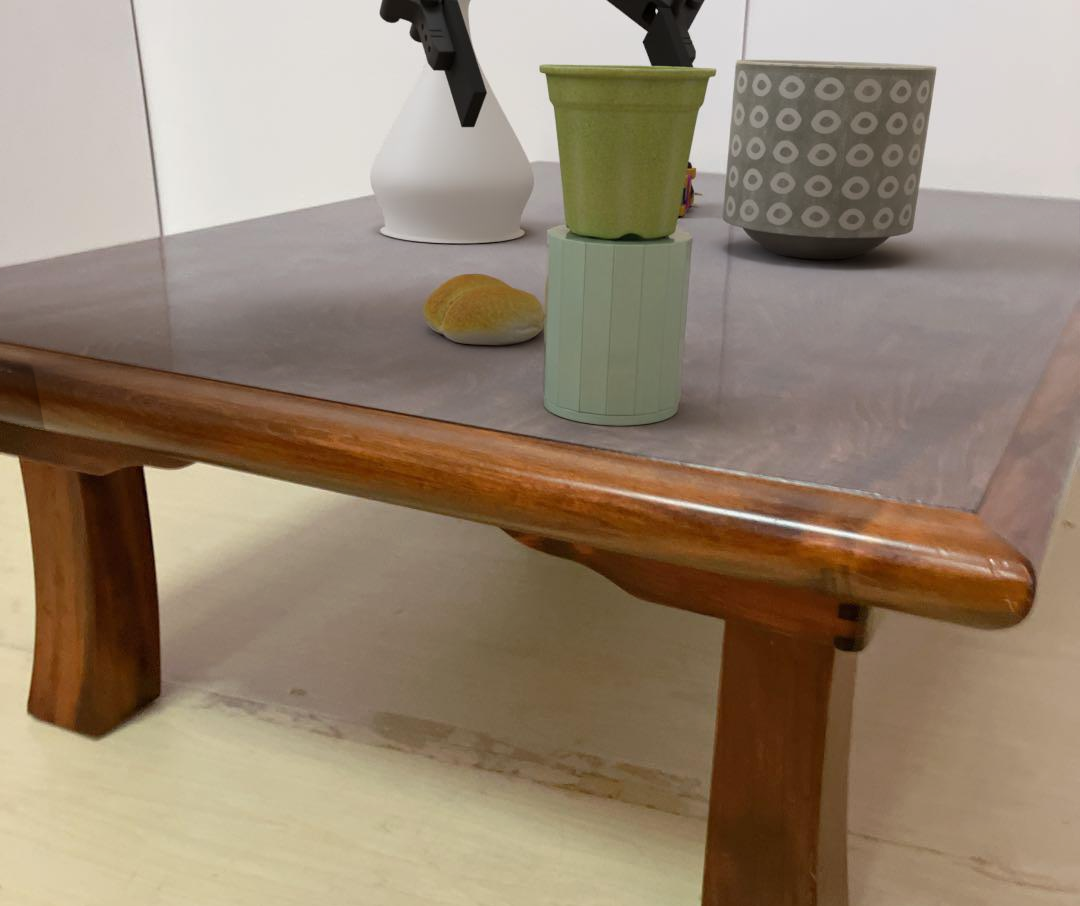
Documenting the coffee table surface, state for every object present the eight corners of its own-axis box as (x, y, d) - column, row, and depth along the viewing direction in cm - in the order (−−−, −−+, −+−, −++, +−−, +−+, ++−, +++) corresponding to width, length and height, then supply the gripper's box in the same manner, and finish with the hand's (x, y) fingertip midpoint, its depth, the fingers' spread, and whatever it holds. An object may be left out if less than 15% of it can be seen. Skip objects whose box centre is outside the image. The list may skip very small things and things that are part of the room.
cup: (548, 425, 66) (554, 243, 62) (538, 386, 73) (542, 221, 69) (690, 426, 66) (704, 246, 62) (665, 386, 74) (677, 223, 70)
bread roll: (467, 353, 80) (467, 294, 78) (409, 325, 87) (408, 271, 85) (569, 340, 84) (570, 284, 82) (505, 314, 91) (506, 262, 89)
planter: (757, 232, 133) (774, 59, 126) (927, 250, 125) (956, 65, 117) (691, 255, 118) (706, 60, 111) (879, 278, 109) (909, 68, 102)
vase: (400, 249, 117) (394, -30, 107) (352, 223, 131) (343, -25, 121) (559, 241, 124) (567, -22, 114) (496, 217, 138) (499, -18, 128)
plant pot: (501, 233, 65) (504, 62, 61) (593, 215, 72) (599, 62, 68) (650, 253, 60) (661, 70, 56) (732, 232, 67) (746, 68, 64)
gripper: (643, -96, 82) (741, 152, 75) (285, -124, 72) (361, 157, 66) (688, -197, 75) (799, 65, 69) (301, -241, 66) (387, 57, 59)
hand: (585, 111), depth 67 cm, fingers open, 13 cm apart
